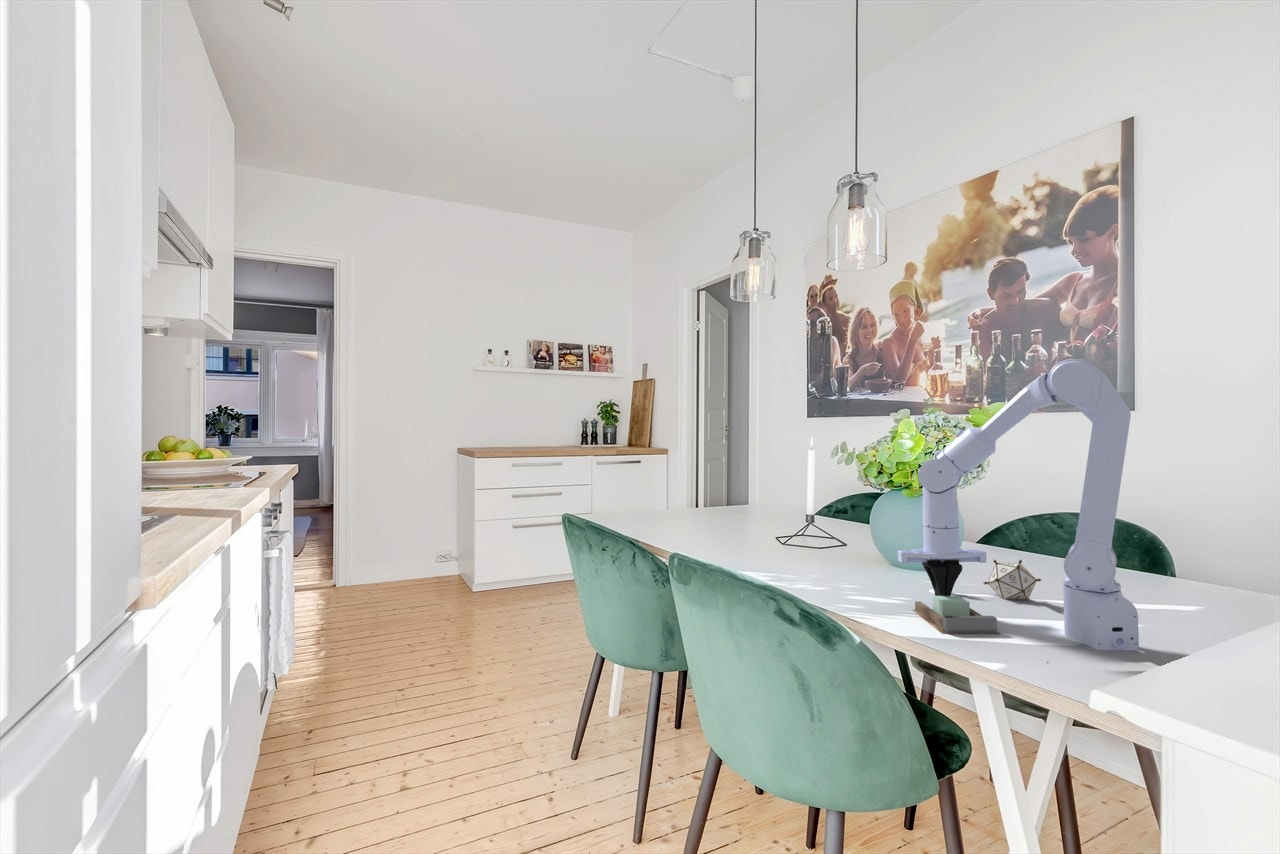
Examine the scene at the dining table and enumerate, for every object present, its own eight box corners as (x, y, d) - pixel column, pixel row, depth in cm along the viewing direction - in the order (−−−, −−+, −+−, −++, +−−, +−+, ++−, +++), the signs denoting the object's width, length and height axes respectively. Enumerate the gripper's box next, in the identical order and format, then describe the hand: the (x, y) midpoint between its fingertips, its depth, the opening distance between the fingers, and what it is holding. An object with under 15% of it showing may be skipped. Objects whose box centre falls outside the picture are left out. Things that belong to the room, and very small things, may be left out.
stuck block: (970, 623, 102) (969, 602, 102) (943, 623, 102) (942, 602, 102) (959, 615, 106) (958, 595, 106) (933, 615, 106) (932, 595, 106)
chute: (1001, 640, 97) (1000, 618, 97) (942, 639, 97) (942, 618, 97) (963, 615, 110) (962, 595, 110) (912, 615, 110) (911, 596, 110)
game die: (1014, 618, 119) (1033, 574, 121) (1037, 615, 111) (1056, 568, 113) (969, 594, 121) (989, 551, 124) (988, 589, 113) (1008, 543, 116)
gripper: (972, 522, 111) (974, 596, 111) (891, 523, 112) (892, 596, 112) (991, 528, 104) (993, 607, 104) (905, 529, 105) (906, 607, 105)
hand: (942, 602), depth 108 cm, fingers closed, pressing on stuck block
